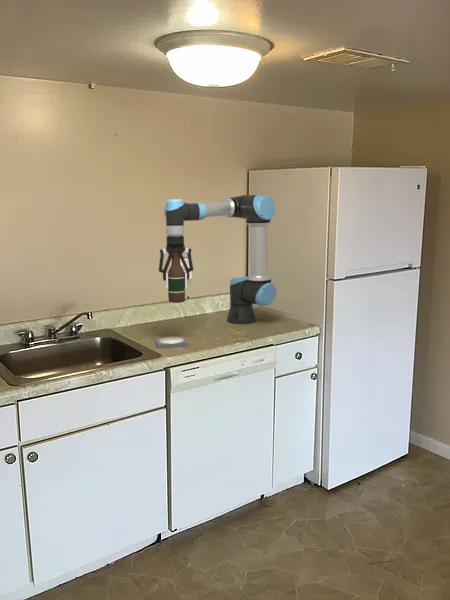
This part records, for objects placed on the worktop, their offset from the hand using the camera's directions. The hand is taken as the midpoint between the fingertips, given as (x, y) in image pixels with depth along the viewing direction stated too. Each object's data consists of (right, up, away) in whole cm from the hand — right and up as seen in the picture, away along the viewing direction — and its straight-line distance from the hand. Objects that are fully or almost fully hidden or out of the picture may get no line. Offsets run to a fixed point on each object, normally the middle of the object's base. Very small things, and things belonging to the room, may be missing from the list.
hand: (176, 287), depth 244 cm
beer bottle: (0, -6, +1) cm, 6 cm away
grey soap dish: (-3, -25, +5) cm, 26 cm away
